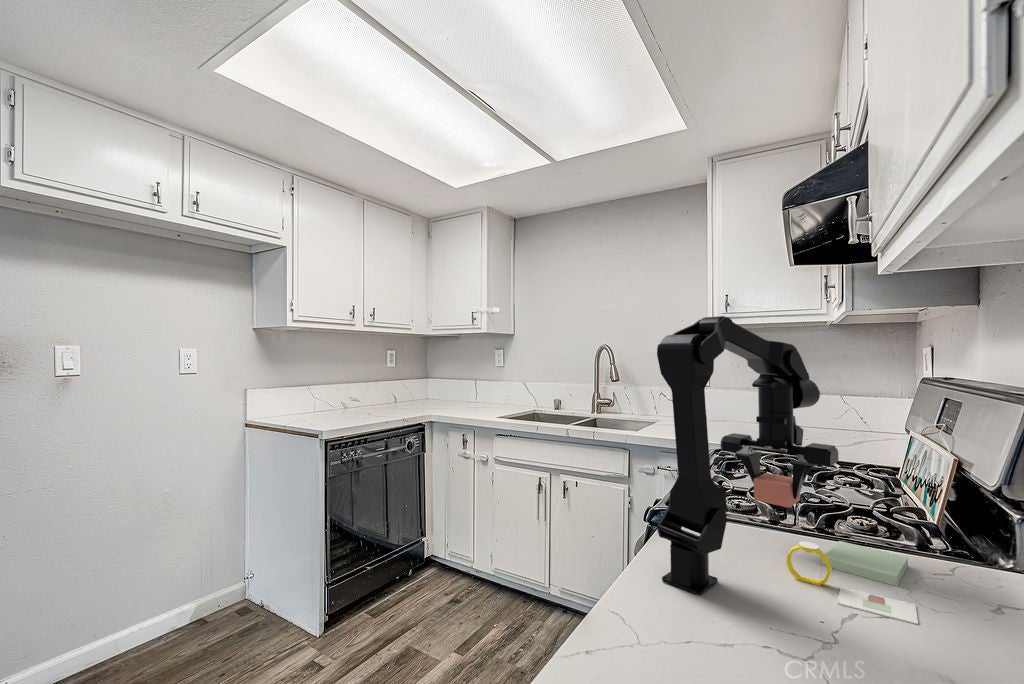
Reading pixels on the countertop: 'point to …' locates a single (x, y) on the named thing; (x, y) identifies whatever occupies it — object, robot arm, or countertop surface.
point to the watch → (812, 549)
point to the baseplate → (867, 562)
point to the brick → (774, 490)
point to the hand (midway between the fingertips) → (776, 494)
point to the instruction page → (878, 605)
